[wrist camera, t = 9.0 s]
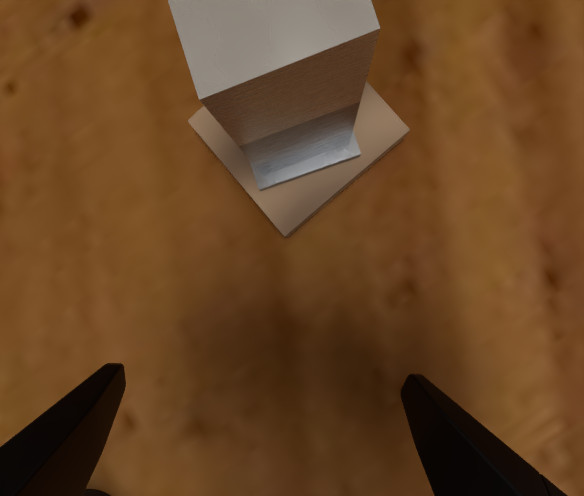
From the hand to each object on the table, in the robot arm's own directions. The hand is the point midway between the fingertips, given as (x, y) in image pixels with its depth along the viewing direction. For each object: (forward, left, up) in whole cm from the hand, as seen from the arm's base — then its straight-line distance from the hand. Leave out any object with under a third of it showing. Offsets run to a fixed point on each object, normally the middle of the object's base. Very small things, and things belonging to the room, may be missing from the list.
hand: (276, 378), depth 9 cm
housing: (+9, -7, -9) cm, 15 cm away
